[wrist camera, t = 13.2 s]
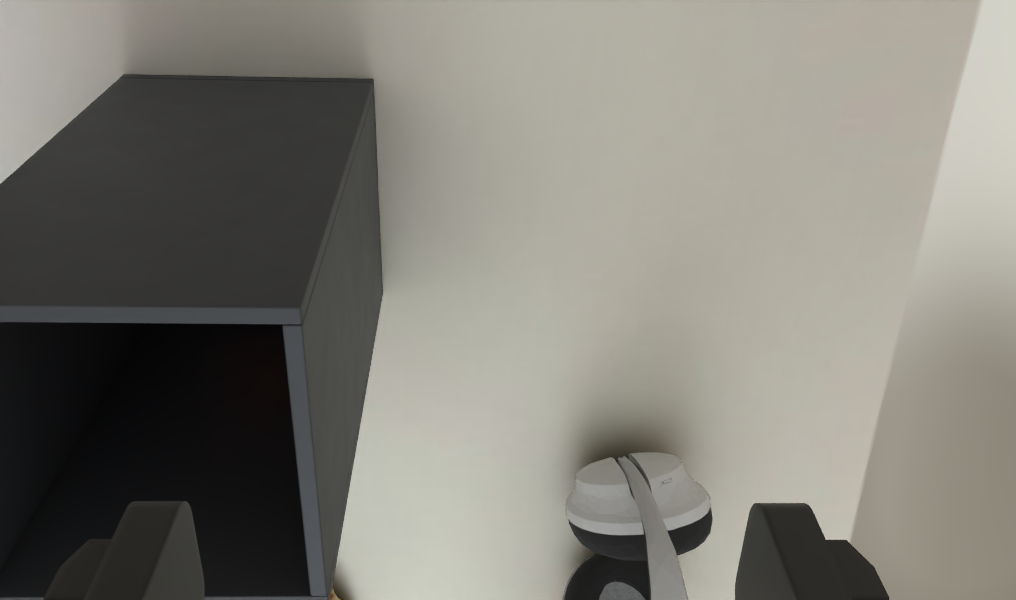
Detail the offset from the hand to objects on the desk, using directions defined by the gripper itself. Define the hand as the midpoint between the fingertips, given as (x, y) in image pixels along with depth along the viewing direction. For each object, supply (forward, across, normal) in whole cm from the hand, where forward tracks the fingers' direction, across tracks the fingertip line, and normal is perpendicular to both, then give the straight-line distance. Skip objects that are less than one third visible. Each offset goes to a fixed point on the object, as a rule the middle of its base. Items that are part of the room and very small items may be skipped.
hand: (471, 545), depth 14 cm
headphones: (+36, -10, +33) cm, 50 cm away
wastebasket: (+36, +11, +10) cm, 39 cm away
